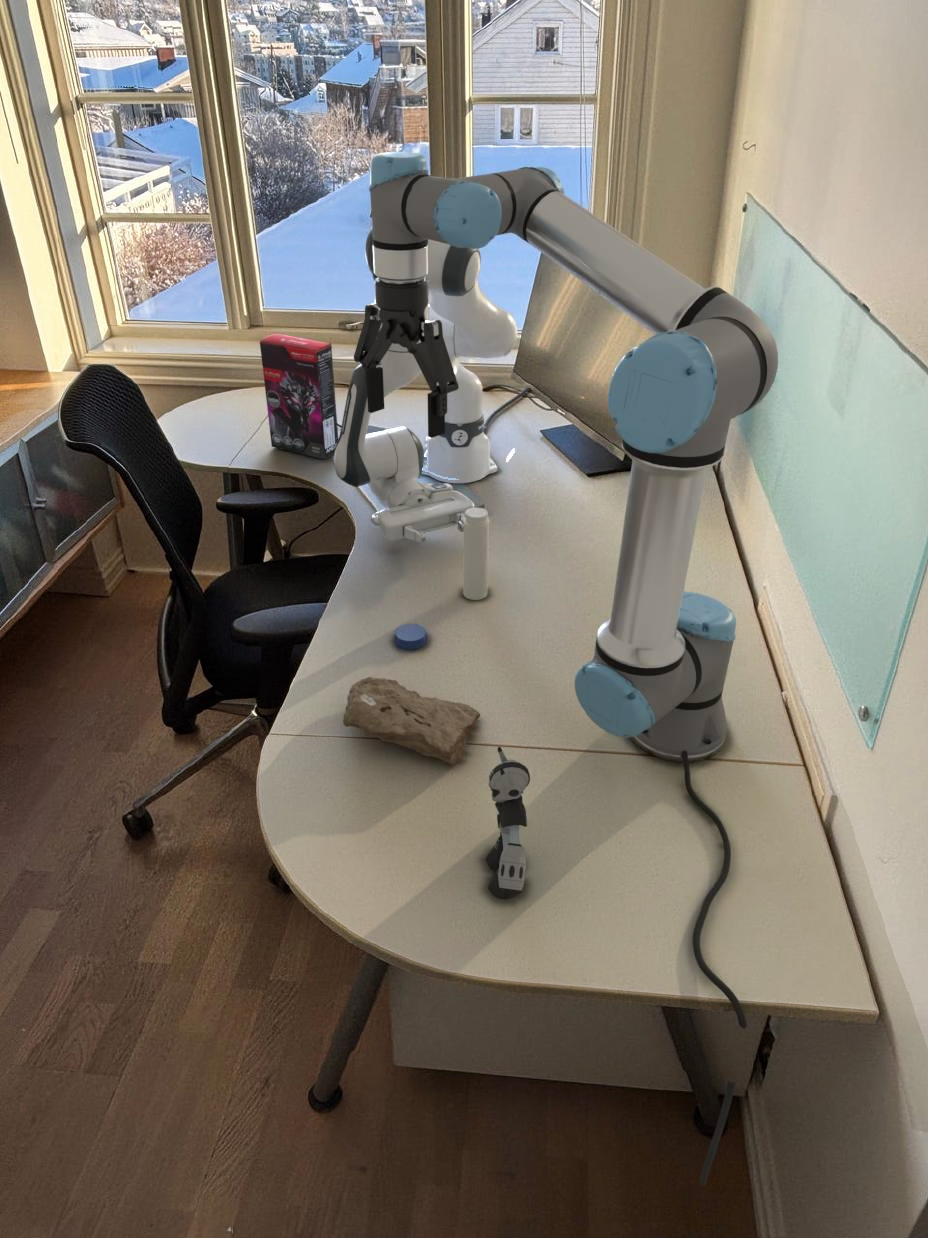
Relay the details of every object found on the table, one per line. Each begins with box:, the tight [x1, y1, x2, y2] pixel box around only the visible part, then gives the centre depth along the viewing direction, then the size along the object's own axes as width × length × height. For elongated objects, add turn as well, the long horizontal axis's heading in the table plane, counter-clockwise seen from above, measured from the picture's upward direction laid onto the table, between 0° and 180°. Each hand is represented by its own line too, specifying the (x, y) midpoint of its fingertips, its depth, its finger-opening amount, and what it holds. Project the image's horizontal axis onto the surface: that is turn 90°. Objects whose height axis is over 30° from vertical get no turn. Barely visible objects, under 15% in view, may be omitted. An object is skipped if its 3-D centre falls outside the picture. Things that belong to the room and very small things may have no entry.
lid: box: [394, 623, 428, 651], centre depth 162 cm, size 6×6×2 cm
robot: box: [485, 746, 531, 899], centre depth 114 cm, size 20×5×20 cm, turn 3°
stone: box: [342, 676, 481, 766], centre depth 140 cm, size 21×15×6 cm
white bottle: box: [462, 507, 490, 601], centre depth 171 cm, size 5×5×17 cm
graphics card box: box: [259, 333, 339, 460], centre depth 223 cm, size 17×7×27 cm, turn 62°
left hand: (444, 533), depth 181 cm, fingers open, 8 cm apart
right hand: (405, 422), depth 140 cm, fingers open, 13 cm apart
